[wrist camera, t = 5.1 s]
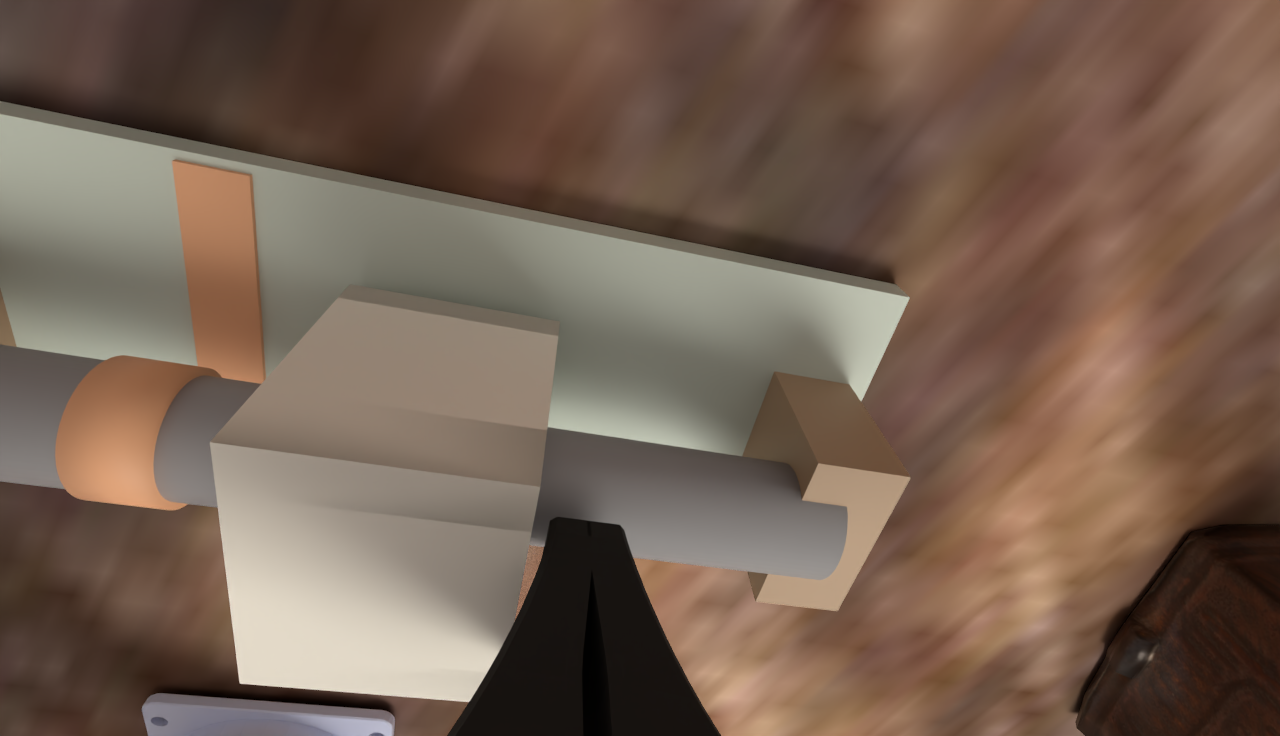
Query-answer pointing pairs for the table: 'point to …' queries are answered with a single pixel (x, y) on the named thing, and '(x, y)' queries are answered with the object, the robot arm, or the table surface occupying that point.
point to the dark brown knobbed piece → (1198, 645)
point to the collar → (385, 496)
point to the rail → (449, 271)
